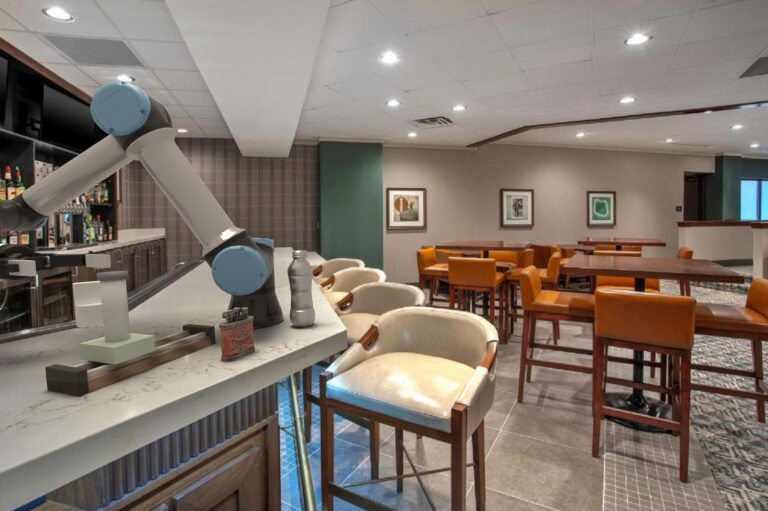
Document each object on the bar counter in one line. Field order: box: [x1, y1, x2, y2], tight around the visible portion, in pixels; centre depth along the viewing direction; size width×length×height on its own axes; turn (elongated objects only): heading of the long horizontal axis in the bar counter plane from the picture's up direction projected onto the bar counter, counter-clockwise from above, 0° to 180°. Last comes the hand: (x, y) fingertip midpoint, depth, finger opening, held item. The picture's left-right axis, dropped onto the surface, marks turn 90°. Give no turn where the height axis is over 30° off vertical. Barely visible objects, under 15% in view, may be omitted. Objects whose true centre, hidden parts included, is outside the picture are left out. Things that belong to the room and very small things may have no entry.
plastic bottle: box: [286, 249, 316, 328], centre depth 108 cm, size 6×7×20 cm
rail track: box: [44, 323, 216, 397], centre depth 82 cm, size 30×8×4 cm, turn 159°
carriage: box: [79, 270, 156, 364], centre depth 76 cm, size 8×9×16 cm
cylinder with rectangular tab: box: [72, 280, 103, 329], centre depth 117 cm, size 9×9×12 cm
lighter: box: [218, 307, 256, 363], centre depth 85 cm, size 8×3×10 cm, turn 152°
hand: (74, 264), depth 79 cm, fingers open, 13 cm apart
